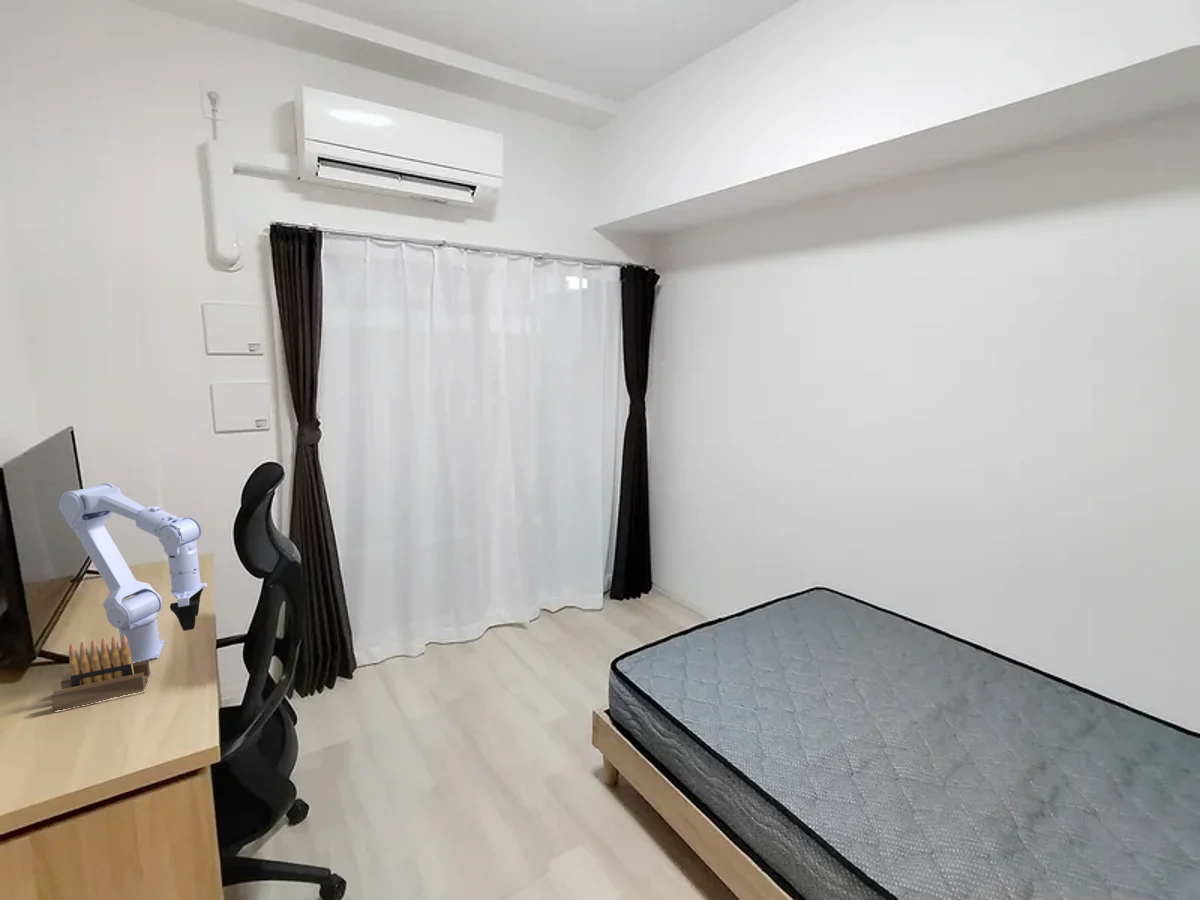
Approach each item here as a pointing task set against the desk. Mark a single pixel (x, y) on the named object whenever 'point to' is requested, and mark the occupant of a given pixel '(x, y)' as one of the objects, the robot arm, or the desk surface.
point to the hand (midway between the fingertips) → (190, 622)
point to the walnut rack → (101, 688)
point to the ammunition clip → (99, 669)
